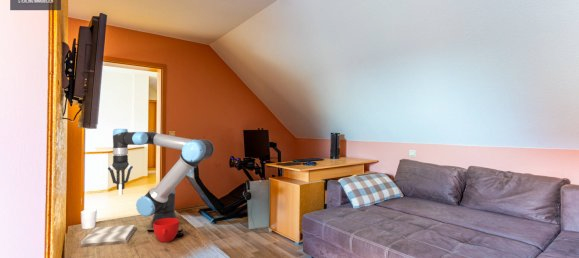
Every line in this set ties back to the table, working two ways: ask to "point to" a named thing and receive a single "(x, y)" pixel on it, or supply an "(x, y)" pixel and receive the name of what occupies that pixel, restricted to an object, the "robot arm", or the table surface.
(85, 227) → the white cup
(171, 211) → the robot arm
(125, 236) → the base board
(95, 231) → the raised plank
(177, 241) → the table surface
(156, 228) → the ceramic cup
